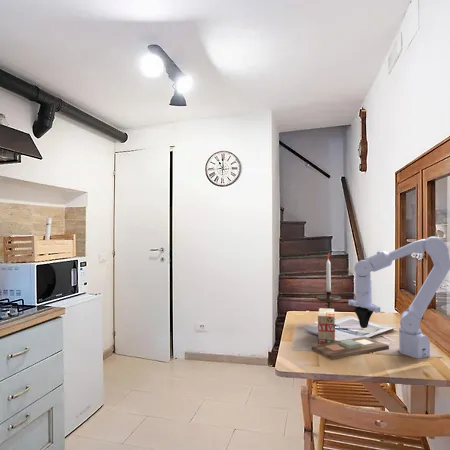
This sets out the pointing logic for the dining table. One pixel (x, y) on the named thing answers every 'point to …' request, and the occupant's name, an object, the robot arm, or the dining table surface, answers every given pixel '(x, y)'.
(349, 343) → the sage tile
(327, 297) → the candlestick
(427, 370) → the dining table surface
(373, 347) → the tap panel
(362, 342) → the cream tile
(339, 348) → the terracotta tile
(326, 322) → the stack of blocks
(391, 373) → the dining table surface
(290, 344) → the dining table surface
